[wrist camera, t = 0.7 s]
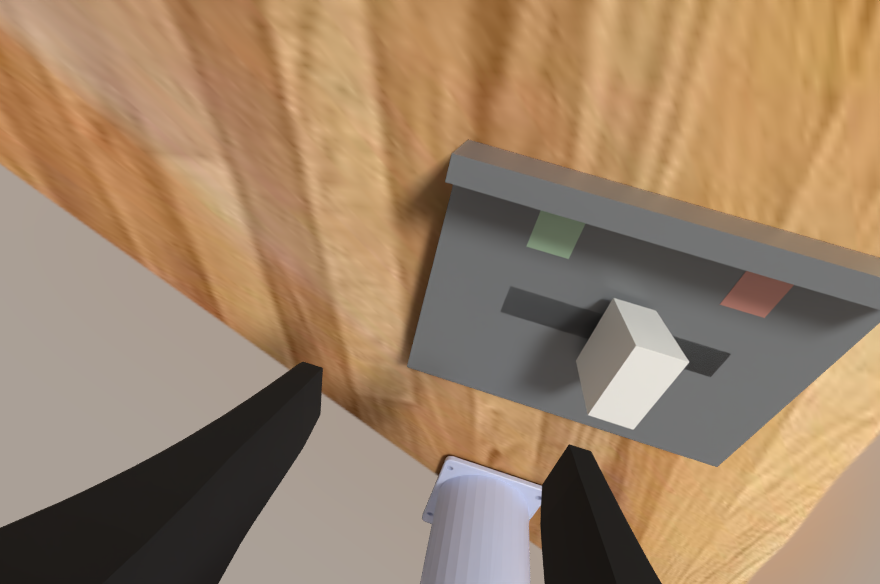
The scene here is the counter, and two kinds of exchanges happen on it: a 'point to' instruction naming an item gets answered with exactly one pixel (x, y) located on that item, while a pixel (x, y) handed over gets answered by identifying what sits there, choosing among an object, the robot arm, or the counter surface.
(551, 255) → the switch panel
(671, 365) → the knob
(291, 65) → the counter surface
